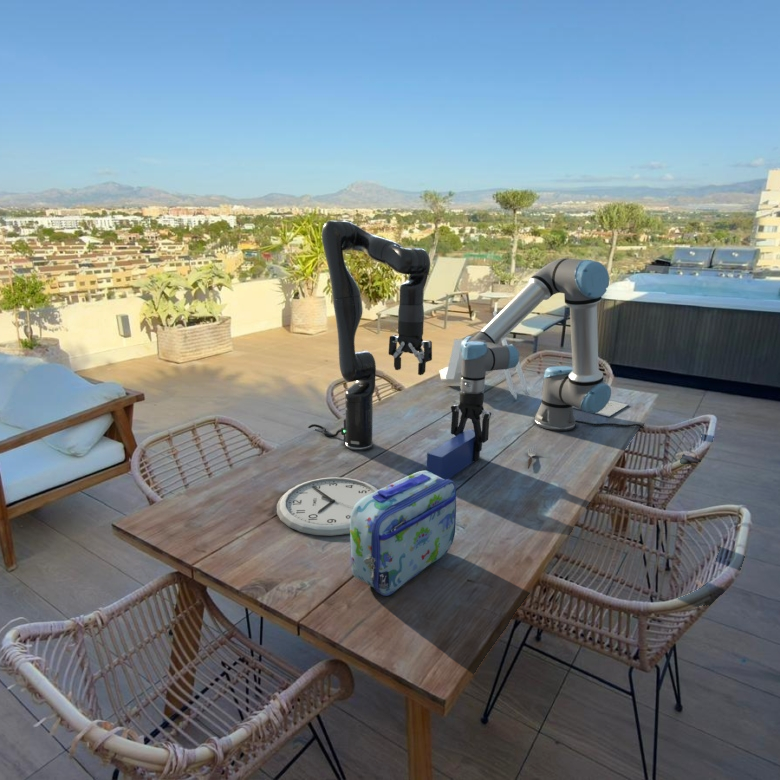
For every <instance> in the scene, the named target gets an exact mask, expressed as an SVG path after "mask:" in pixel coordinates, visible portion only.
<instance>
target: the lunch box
mask: <svg viewBox="0 0 780 780" xmlns="http://www.w3.org/2000/svg"><path fill="white" fill-rule="evenodd" d="M456 519H457V488H456V484H455V482H454V480H452V479H446V480H444V479H442V478H440V477H439V476H437V475H435V474H433V473H431V472H429V471H427V470H419V471H417V472H414V473H412V474H410V475H407V476H405V477H403V478H400V479H399V480H396V481H394V482H392V483H390V484H388V485H386V486H384V487H382V488H380V489H379V490H378V491H376V492H374V493H372V494H370V495H367V496H365V497H364V498H362V499H360V500H359V501H358V502H357V503H356V505H355V506H354V508H353V510H352V513H351V517H350V533H349V540H350V566H351V573H352V575H353V577H354V578H355V579H357V580H359V581H362V582H363V583H365V584H367V585H368V586H370V587H371V588H373V589H374V590H375V592H376V593H378V594H379V595H381V596H386V597H387V596H390V595H392V594H394V593H395V592H396V591H398V590H399V589H400V588H401V587H402V586H404V585H405V584H407V583H408V582H409V581H411V580H412V579H413V578H415V577H416V576H418V575H419V574H420V573H421V572H423V571H424V570H425V569H426V568H428V566H430V565H432V564H434V563H435V562H437V561H438V560H440V559H441V558H442V557H444V556H445V555H446V554H447V553H448V552H449V550H450V548H451V547H452V545H453V542H454V539H455V535H456V524H457V523H456V522H457V520H456Z"/></svg>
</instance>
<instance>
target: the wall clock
mask: <svg viewBox="0 0 780 780" xmlns="http://www.w3.org/2000/svg"><path fill="white" fill-rule="evenodd" d="M378 490H380V489H379V488H377V487H376V486H374V485H372V484H371V483H369V482H365V481H362V480H359V479H355V478H349V477H338V476H337V477H335V476H333V477H332V476H331V477H322V478H317V479H312V480H307V481H305V482H302V483H299V484H297V485H295V486H293V487H292V488H290V489H288V490H287V491H286V492H285V493H284V494H283V495H281V496H280V498H279V499H278V502H277V503H276V515H277V517H278V518H279V520H280V521H281V522H282V523H283V524H285V525H286V526H287V527H288V528H290V529H293V530H295V531H297V532H299V533H303V534H308V535H312V536H327V537H328V536H329V537H331V536H332V537H333V536H342V535H350V517H351V513H352V510H353V508H354V506H355V505H356V503H357V502H358V501H359V500H360V499H362V498H364V497H365V496H367V495H370V494H372V493H374V492H376V491H378Z"/></svg>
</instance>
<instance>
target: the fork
mask: <svg viewBox="0 0 780 780" xmlns="http://www.w3.org/2000/svg"><path fill="white" fill-rule="evenodd" d="M533 448H535V449H533ZM533 448H531V447H529V448H528V451H527V456H529V459H528V460H527V469H530V467H531V465H532V463H533V460H532V459H533V457H535V456H537V445H536V447H535V445H534V446H533Z"/></svg>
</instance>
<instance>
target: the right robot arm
mask: <svg viewBox="0 0 780 780" xmlns="http://www.w3.org/2000/svg"><path fill="white" fill-rule="evenodd" d="M609 284H610V274H609V271H608V269H607V267H606V266H605V265H604V264H603V263H601V262H600V261H596V260H592V259H579V258H567V257H562V258H558V259H555V260H552V261H551V262H548V264H545V266H543V267H541V268H540V269H539V270H538V271H536V273H534V274H533V275H532V276H531V277H530V278H529V279H528V281H527V285H526V286H525V287H524V288H523V289H522V290H520V292H519V293H518V294H517V295H516V296H515V297H514V298H512V300H511V301H510V302H508V304H506V306H505V307H503V309H501V310H500V311H499V312H497V315H496V316H495V317H494V316H493V318H492V319H491V320H490V321H489V322H488V323H487V324H486V325H485V326H483V328H481V330H480V331H479V332H477V334H475V335H473V336H472V335H469V336H466V337H465V338H464V339H463V341H462V343H461V347H460V348H461V352H462V367H461V383H460V387H459V388H460V390H459V403H458V404H457V403H455V404H453V405H451V406H450V410H451V422H450V423H451V424H450V433H451V435H453V436H454V437H455V436H457V435H459V434H460V433H462V432H464V431H465V427H466V424H467V422H468V419H469V420H471V423H472V425H473V430H474V432H475V438H476V442H474V448H473V461H474V462H473V463H475V462H477V461H478V460H479V459H480V457H479V452H480V453H481V451H482V448H483V444H485V443H486V442H487V441H489V434H490V433H489V430H490V419H491V416H492V412H491V411H486V410H485V408H484V399H485V392H484V391H485V386H486V385H485V383H486V376H485V374H486V371H492V372H494V371H501V370H503V369H509V370H510V369H513V368H516V365H517V364H518V362H520V352H519V349H518V348H517V347H516V346H515V345H513V344H512V345H510V344H508V345H504V346H503V345H500V343H502V340H503V339H504V338H505V337H506V338H507V337H508V336H509V334H511V332H512V331H513V330H515V328H516V327H517V326H519V325H520V323H521V322H523V320H525V319H526V318H527V317H528V315H530V314H531V313H532V312H533V311H534V310H535V309H536V308H537V307H538V306H539V305H540V304H541V303H542V302H543V301H547V300H549V299H550V298H551V297H553V296H554V295H556V294H563V295H564V304H565V305H567V307H569V320H570V322H569V323H570V340H571V341H570V343H571V344H570V345H571V364H572V366H566V365H565V366H564V365H559V366H558V365H557V366H550V367H547V368H546V369H545V370H544V375H543V381H542V392H541V402H540V405H539V407H538V410H537V411H536V413H535V417H534V424H535V425H536V426H537V427H539V428H542V429H544V430H549V431H556V432H567V431H572V430H574V429H575V428H576V423H577V424H582V425H588V426H593V427H596V426H597V427H598V426H599V427H601V426H614V427H625V428H630V427H639V428H640V429H645V427H644V426H643V424H642V425H641V424H639V423H630V424H623V423H614V422H613V423H612V422H602V423H600V422H599V423H593V422H589V421H588V422H587V421H583V420H578V419H576V418H575V417H576V416H575V413H574V407H576V408H578V409H577V410H580V409H581V412H586V413H589V414H596V413H597V412H599V411H601V410H602V409H603V408H604V407H605V406H606V404H607V403H608V402H609V400H610V399H611V396H612V388H611V386H610V385H609V384H608V383H606V382H604V373H603V371H601V370H600V368H599V339H598V338H599V336H598V335H599V334H598V333H599V331H598V304H599V303H600V302H601V301H602V297H603V296H604V295H605V294H606V292H607V291H608V290H607V288H609ZM610 401H611V400H610ZM576 408H575V409H576ZM460 413H461V415H460ZM459 416H460V417H459ZM481 417H482V421H481ZM459 418H460V420H459ZM481 422H482V423H481Z"/></svg>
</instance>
